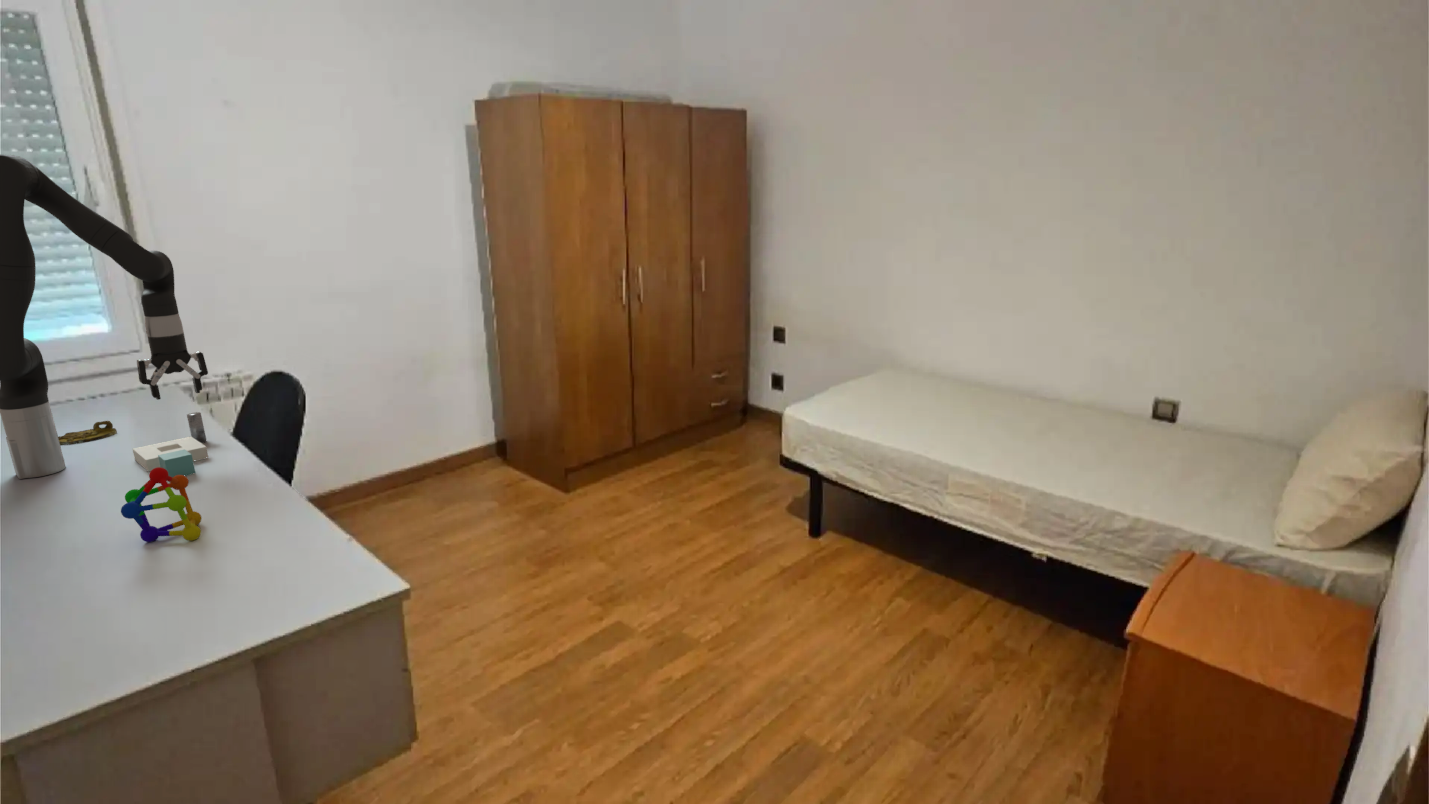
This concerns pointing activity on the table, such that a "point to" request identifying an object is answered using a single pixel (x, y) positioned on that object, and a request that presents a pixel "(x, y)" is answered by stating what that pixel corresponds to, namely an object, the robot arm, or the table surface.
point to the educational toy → (174, 503)
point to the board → (168, 451)
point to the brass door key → (89, 434)
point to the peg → (196, 426)
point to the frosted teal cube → (177, 463)
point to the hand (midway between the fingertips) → (178, 395)
